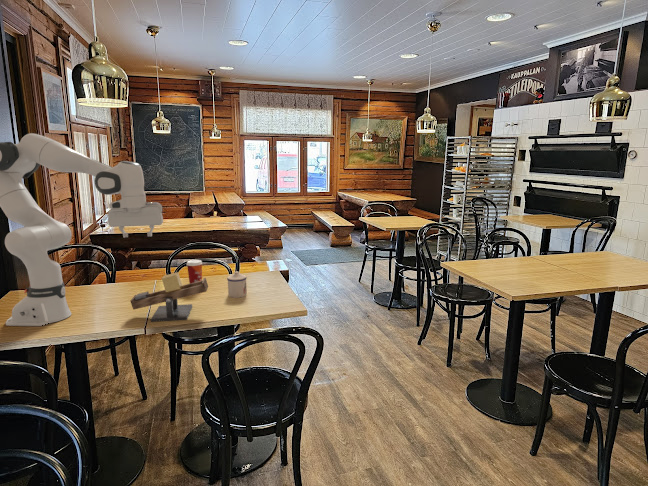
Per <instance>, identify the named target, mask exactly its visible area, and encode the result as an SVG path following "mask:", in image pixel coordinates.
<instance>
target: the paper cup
mask: <svg viewBox="0 0 648 486" xmlns="http://www.w3.org/2000/svg"><path fill="white" fill-rule="evenodd" d="M186 266H187V275H188V280H189V281H188V282H189V284H190V283H194V282H199V281H203V261H202V260H201V259H191V260H188V261H187V262H186Z"/></svg>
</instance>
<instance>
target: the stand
mask: <svg viewBox="0 0 648 486" xmlns="http://www.w3.org/2000/svg"><path fill="white" fill-rule="evenodd" d="M165 300H166V302H165V305H159V306H158V307H157V308H156V310H155V312H154V314H153V315H152V316H151V318H150V322H153V323H154V322H168V321H169V322H171V321H187V320H188V319H189V316H190V313H191V311H192V309H193V304H191V303H190V304H188V303H187V304H178V299H175V300H172V297H166V298H165Z"/></svg>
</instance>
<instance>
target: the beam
mask: <svg viewBox="0 0 648 486" xmlns="http://www.w3.org/2000/svg"><path fill="white" fill-rule="evenodd" d="M182 286H183V289H182V290H178V291H174V292H170V293H166V291H165V289H162V290H159V291H154V292H151V293H150V292H149V295H150V297H149V298H145V299H141V300H137V301H136V300H135V296H136V295H137V294H135V295H133V297H132V298H131V299H130V304H131V307H132V310H138V309H142V308H146V307H149V306H154V305H158V304H159V305H160V304H162V303H166V300H165V298H166V297H172V300H175V299H177V300H178V299H182V298H187V297H190V296H194V295H199V294H202V293H206V292H207V290H208V288H209V285H208V281H207V278H206V277H204V278H202V281H199V282H194V283H190V282H189V283H186V284H184V285H183V284H182Z"/></svg>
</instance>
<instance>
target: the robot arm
mask: <svg viewBox="0 0 648 486" xmlns="http://www.w3.org/2000/svg"><path fill="white" fill-rule="evenodd" d="M41 166H43V167H45V168H47V169H49V170H52V171H56V172H58V173H80V174H81V173H82V174H86V175H90V176H93V177H94V186H95V188H96V190H97V191H98V192H99V193H100V194H102V195H106V196H112V195H119V194H120V198H121V199H117V200H116V201H112V202H110V203H108V207H109V210H108V213H107V224H108V226H109V227H110V228H118V229H119V231H120V232H121V234H122V236H123V237H122V238H124V239H125V238H129V232H126V230H125V227H142V226H143V227H145V226H146V227H149V229H150V230H149V231H147V232H146V233H147V237H153V231H154V229H155V226H162V224H163V223H164V217H163V205H162V204H161V203H159V202H157V201H154V202H151V201H148V202H147V195H146V192H145V177H144V171H143V168H142V166H141V164H140V163H138V162H135V161H127V160H121V161H120V162H118V164H115V166H110V165H107V164H106V163H103V162H100V161H98V160H96V159H93V158H91V157H89V156H87V155H85V154H83V153H80V152H78V151H76V150H75V149H73V148H70V147H69V146H68V145H65V144H63V143H61V142H59V141H57V140H55V139H53V138H50V137H47V136H45V135H40V134H38V133H33V132H32V133H31V132H30V133H27V134H25V135H24V136H23V137H21V139H20V141H19V142H18V143H13V142H12V141H2V142H1V141H0V208H1V210H2V211H3V213H4V214H5V216H6V217H7V219H8V220H9V221H11V222H13V223H16V224H19V225H21V226H22V227H20V228H17V229H14V230H11V231H10V232H8V233H7V234H6V236H5V238H4V245H5V248H6V250H7V252H9V253H10V254H11V255H13V256H15V257H17V258H18V259H20V261H22V263H23V264H24V265H25V268H26V271H27V276H28V280H29V286H28V287H27V288H26V289H25V290H23V293H24V294H26V296H24V297H23V298H22V299H21V300H20V301H19V302H17V303H16V304H15V305H14V306H13V308H12V310H11V316H10V317H9V318H8V319H7V320H6V321H5V326H8V327H9V326H11V327H13V326H15V327H17V326H18V327H43V326H46V325H48V323H49V324H52V323H55V322H60V321H63V320H65V319H67V318H69V317H70V316H72V312H71V309H70V308H69V304H68V302H67V297H66V287H65V283H64V281H63V274H62V268H61V265H60V263H58V262H57V261H55V260H52V259H51V258H50V256H49V254H48V251H52V250H55V249H58V248H59V249H60V248H61V247H63V246H65V245H67V244H69V243H70V242H71V240H72V235H73V234H72V231H71V228H70V227H69V226H68V224H67V223H64V222H62V221H60V220H56V219H54V218H53V217H52V216H50V215H49V214H47V213H46V212H45V211H44V210H43V209H42V208H41V207H40V206H39V205H38V203H37V202H36V201H35V199H34V198H33V196H32V194H31V193H30V192H29V190H28V188H27V187H26V186H25V183H24V182H23V179H29V177H30V176H31V175H32V174H34V173H35V172H37V170H39V168H40V167H41ZM45 324H46V325H45ZM42 325H43V326H42Z"/></svg>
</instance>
